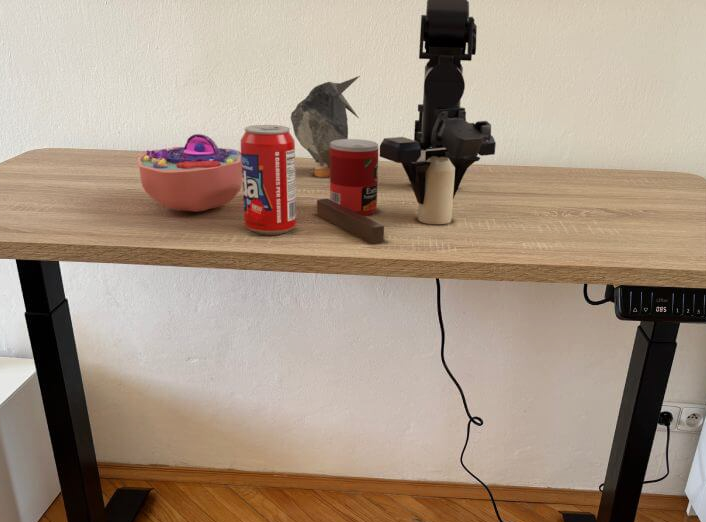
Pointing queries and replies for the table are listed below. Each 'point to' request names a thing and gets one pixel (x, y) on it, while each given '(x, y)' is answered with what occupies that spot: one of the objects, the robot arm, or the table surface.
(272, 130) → the soda can
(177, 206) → the cell model
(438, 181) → the candle
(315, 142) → the grey bird figurine
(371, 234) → the walnut rail
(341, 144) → the canned food
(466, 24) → the robot arm
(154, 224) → the table surface
